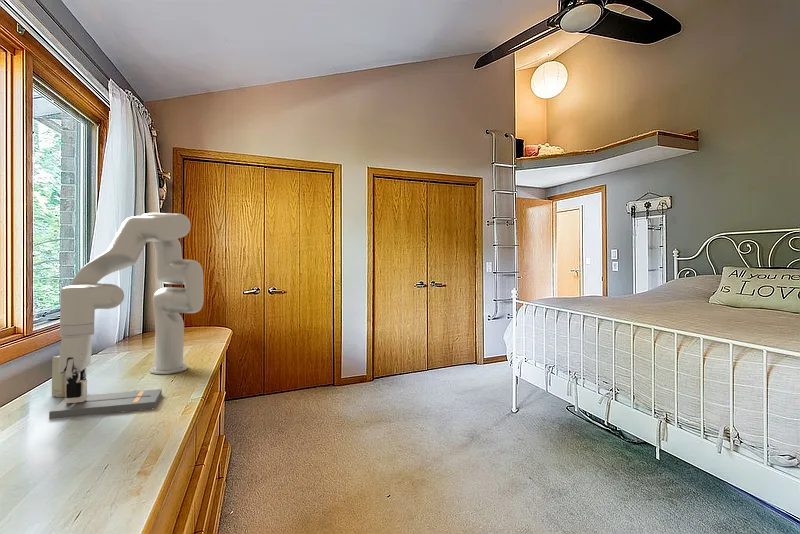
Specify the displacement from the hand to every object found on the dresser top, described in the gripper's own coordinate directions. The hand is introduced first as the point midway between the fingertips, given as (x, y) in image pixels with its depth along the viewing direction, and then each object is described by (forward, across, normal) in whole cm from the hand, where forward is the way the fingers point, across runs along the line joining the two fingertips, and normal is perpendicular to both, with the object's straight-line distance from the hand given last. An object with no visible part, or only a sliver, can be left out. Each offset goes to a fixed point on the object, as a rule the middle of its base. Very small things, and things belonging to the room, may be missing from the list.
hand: (76, 394), depth 113 cm
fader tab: (+2, 0, 0) cm, 2 cm away
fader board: (+4, 0, +8) cm, 9 cm away
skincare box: (+4, -16, -7) cm, 18 cm away
